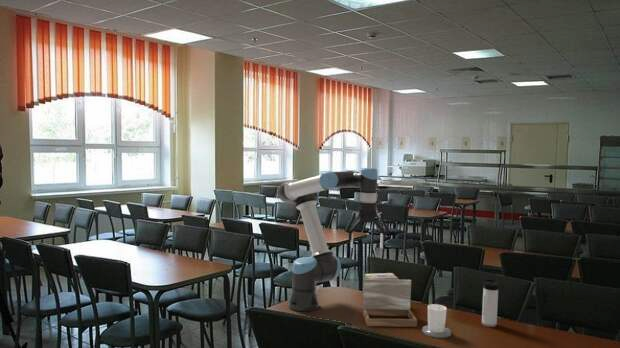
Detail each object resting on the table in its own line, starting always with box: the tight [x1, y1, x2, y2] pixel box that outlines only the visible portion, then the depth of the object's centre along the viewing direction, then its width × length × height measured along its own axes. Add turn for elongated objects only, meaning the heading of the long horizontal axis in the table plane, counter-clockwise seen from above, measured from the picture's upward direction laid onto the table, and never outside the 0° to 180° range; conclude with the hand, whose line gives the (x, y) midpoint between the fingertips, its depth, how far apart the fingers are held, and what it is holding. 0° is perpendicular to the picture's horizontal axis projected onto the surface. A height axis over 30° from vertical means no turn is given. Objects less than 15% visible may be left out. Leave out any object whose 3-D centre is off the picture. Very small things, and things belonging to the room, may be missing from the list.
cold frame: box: [362, 278, 418, 328], centre depth 213 cm, size 15×22×17 cm
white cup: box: [427, 303, 447, 333], centre depth 200 cm, size 8×8×10 cm
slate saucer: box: [421, 324, 452, 339], centre depth 201 cm, size 12×12×1 cm
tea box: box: [364, 272, 399, 280], centre depth 235 cm, size 15×10×15 cm
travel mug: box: [481, 278, 499, 328], centre depth 211 cm, size 6×7×20 cm
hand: (366, 247), depth 214 cm, fingers open, 13 cm apart
